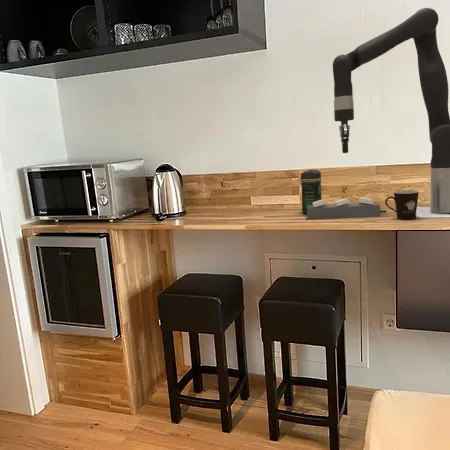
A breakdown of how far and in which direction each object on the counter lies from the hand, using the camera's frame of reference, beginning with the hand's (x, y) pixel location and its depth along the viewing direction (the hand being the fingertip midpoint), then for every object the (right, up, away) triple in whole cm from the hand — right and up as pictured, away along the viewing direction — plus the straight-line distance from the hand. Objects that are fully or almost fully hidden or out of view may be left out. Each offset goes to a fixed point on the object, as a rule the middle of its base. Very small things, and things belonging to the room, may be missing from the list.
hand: (345, 152), depth 193 cm
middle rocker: (-1, -20, -1) cm, 20 cm away
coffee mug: (+18, -27, -12) cm, 35 cm away
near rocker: (+7, -19, -3) cm, 21 cm away
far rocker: (-10, -20, 0) cm, 23 cm away
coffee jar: (-11, -24, +14) cm, 30 cm away
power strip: (+1, -25, +1) cm, 25 cm away
